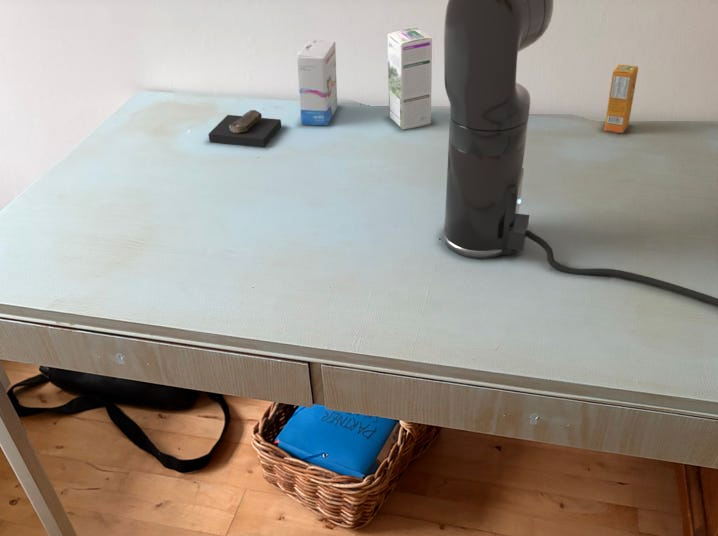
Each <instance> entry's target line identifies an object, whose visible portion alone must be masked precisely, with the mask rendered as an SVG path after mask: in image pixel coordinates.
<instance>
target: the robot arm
mask: <svg viewBox="0 0 718 536" xmlns="http://www.w3.org/2000/svg"><path fill="white" fill-rule="evenodd" d="M553 12H554V0H448V1H447V4H446V9H445V16H444V27H443V32H444V33H443V59H444V60H443V68H444V72H443V73H444V76H443V77H444V88H445V93H446V96H447V100H448V102H449V108H450V109H449V129H448V148H447V149H448V150H447V171H446V187H445V189H446V190H445V192H446V193H445V211H444V226H443V227H444V229H443V237H442V238H443V242H444V244H445V246H446V248H448V249H449V250H451V251H452V252H453V253H455V254H457V255H460V256H462V257H463V256H464V257H468V258H474V259H489V258H494V257H498V256H511V254H512V250H517V251H523V250H524V247H525V243H526V239H527V238H528V239H529V240H531V241H533V242H535V243H536V244H537V245H539V246H540V247H541V248H542V249H543V250H544V251H545V254H546V259H547V262H548V264H549V265H550V267H552V268H554V269H555V270H556V271H559V272H561V273H565V274H569V275H577V276H611V277H617V278H621V279H627V280H631V281H635V282H639V283H644V284H647V285H650V286H654V287H658V288H661V289H664V290H668V291H671V292H674V293H676V294H677V293H678V294H681V295H684V296H686V297H690V298H693V299H695V300H698V301H702V302H705V303H708V304H710V305H713V306H716V307H718V297H714V296H712V295H709V294H705V293H703V292H699V291H697V290H693V289H691V288H688V287H684V286H681V285H677V284H675V283H671V282H668V281H665V280H660V279H658V278H654V277H650V276H646V275H643V274H639V273H634V272H630V271H627V270H626V271H625V270H620V269H615V268H573V267H568V266H566V265H563V264H562V263H560V262H558V261H557V260H556V259H555V255H554V251H553V248H552V247H551V245H550V244H549V243H548V242H547V241H546V240H545V239H543V238H542V237H540V236H539V235H537V234H536V233H533V232H532V231H531V230H529V223H530V214H524V213H520V205H521V196H522V189H523V180H524V172H525V170H524V167H523V166H524V158H525V151H526V143H527V142H526V141H527V132H528V125H529V124H528V123H529V117H530V108H531V94H530V92H529V91H528V89H527V88H526V87H525V86H524V85H522V84H521V83H519V82H517V69H518V68H517V67H518V54H519V52H521V51H523V50H525V49H526V48H529V47H530V46H532V45H533V44H535V43H536V42H538V41H539V40H540V39H541V38H542V37H543V36H544V35H545V33H546V31H547V30H548V28H549V26H550V23H551V21H552V17H553Z"/></svg>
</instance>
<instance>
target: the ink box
mask: <svg viewBox="0 0 718 536" xmlns="http://www.w3.org/2000/svg"><path fill="white" fill-rule="evenodd" d="M336 53H337V52H336V41H330V40H329V41H328V40H327V41H326V40H318V39H309V40H307V41H306V43H305V44H304V45H303V47H302V48H301V49H300V50H299V51H298V53H297V54H296V65H297V66H296V67H297V80H298V81H297V82H298V97H299V111H300V124H301V125H302V126H303V125H308V126H324V127H327V126H328V125H329V123H330V121H331V119H332V118H333V116H334V114H335V113H336V110H337V108H338V83H337V81H338V80H337V55H336Z"/></svg>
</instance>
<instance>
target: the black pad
mask: <svg viewBox="0 0 718 536" xmlns="http://www.w3.org/2000/svg"><path fill="white" fill-rule="evenodd" d="M242 116H243V115H232V114H226V116H225V117H224V118H223V119H222V120H221V121H220V122H219V123H218V124H217V125H216V126H215V127H214V128H213V129H211V131H210V132H208V139H209V143H213V144H214V143H215V144H225V145H233V146H234V145H235V146H244V147H253V148H255V147H256V148H266V147H267V146H268V144H269V143H270V142H271V141H272V140H273V139H274V137H275V136H276V135H277V134H278V133H279V132H280V130H281V129H282V127H283V126H282V120H281V119H280V118H267V117H261V118H260V119H259V120H258V121H257V122H256V123H255V124H254V125H253V126H252V127H251V128H250V129H248V130H247V131H245V132H240V133H235V132H232V131H231V130H230V127H229V125H231V124H232V123H234V122H235V121H236V120H238V119H239V118H241V117H242Z"/></svg>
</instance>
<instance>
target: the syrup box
mask: <svg viewBox="0 0 718 536" xmlns="http://www.w3.org/2000/svg"><path fill="white" fill-rule="evenodd" d="M432 66H433V37H431V36H430V35H428V34H426V33H425V32H424V31H422V30H420V29H419V28H417V27H416V28H415V27H413V28H406V29H405V28H404V29H401V30H396V31H393V32H388V33H387V73H388V74H387V75H388V76H387V79H388V81H387V82H388V83H387V84H388V118H389V119H390V120H391V121H392V122H393V123H394V124H395V125H396V126H397V127H398V128H399V129H401V130H409V129H415V128H418V127H424V126H427V125H431V123H432V82H433V81H432V77H433V76H432V75H433V69H432V68H433V67H432Z"/></svg>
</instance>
